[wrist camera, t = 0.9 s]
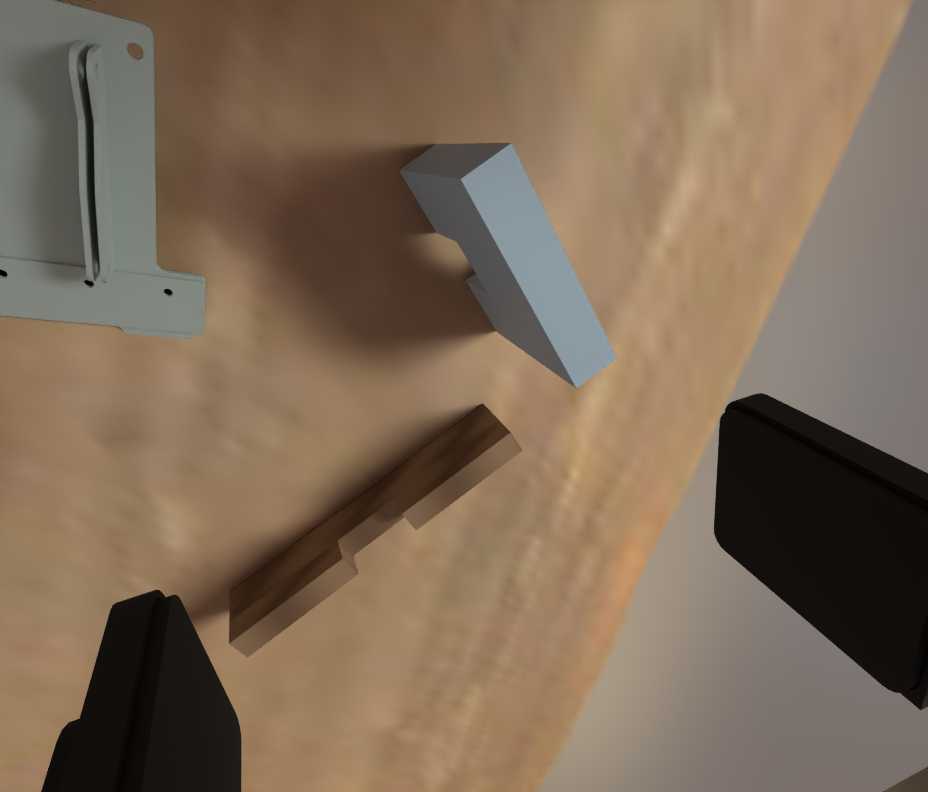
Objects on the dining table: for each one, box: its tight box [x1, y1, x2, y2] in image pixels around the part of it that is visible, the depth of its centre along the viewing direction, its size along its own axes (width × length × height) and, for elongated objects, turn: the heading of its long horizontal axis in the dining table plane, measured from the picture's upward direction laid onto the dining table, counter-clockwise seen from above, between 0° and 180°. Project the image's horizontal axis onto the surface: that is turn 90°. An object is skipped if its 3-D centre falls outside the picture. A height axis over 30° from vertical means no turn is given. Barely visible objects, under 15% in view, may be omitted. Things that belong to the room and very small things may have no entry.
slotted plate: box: [399, 143, 617, 388], centre depth 27 cm, size 10×2×9 cm, turn 32°
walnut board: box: [229, 404, 522, 657], centre depth 33 cm, size 18×1×4 cm, turn 122°
